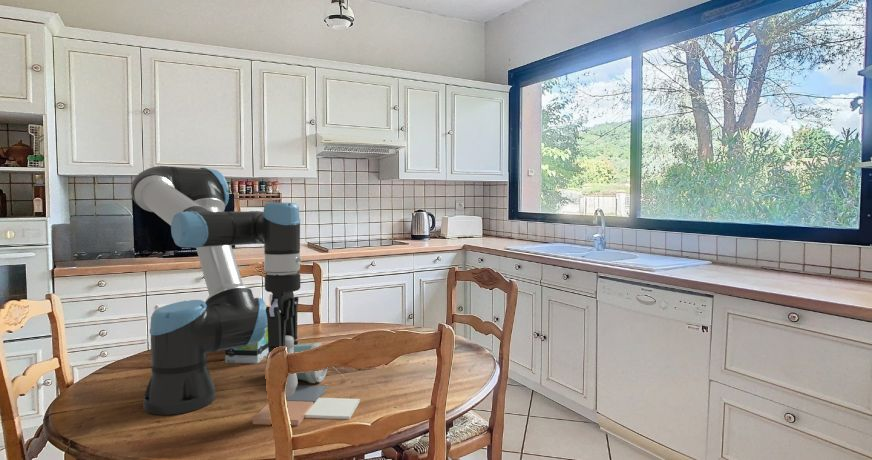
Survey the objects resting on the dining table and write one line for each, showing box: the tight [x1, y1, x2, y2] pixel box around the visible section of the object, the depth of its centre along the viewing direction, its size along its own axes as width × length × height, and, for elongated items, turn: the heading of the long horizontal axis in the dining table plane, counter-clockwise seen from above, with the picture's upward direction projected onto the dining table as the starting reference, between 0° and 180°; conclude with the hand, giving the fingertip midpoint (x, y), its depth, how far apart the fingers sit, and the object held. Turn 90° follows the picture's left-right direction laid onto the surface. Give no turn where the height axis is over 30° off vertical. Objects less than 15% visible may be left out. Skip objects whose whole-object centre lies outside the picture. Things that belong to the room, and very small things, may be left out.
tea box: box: [224, 326, 269, 364], centre depth 151 cm, size 15×10×15 cm, turn 179°
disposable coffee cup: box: [265, 342, 328, 384], centre depth 133 cm, size 11×11×15 cm
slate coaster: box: [287, 384, 329, 404], centre depth 123 cm, size 10×10×1 cm
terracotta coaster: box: [252, 401, 313, 426], centre depth 111 cm, size 10×10×1 cm
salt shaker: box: [285, 335, 299, 397], centre depth 110 cm, size 6×6×13 cm
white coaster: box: [304, 397, 361, 420], centre depth 114 cm, size 10×10×1 cm
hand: (283, 377), depth 110 cm, fingers closed on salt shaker, 3 cm apart
